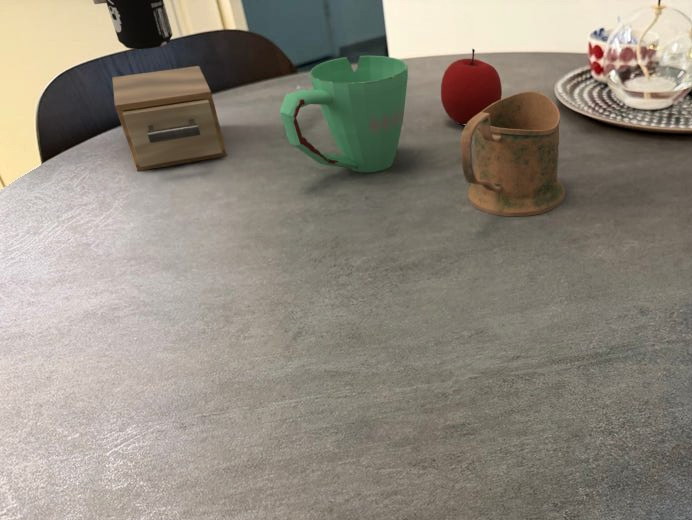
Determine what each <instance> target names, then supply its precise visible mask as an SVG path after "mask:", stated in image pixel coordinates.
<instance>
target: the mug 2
mask: <svg viewBox="0 0 692 520" xmlns="http://www.w3.org/2000/svg"><path fill="white" fill-rule="evenodd" d="M560 119H561V113H560V110H559V107H558V106H557V104H556V103H555V102H554V101H553V100H552V99H551V98H550V97H549V96H547V95H546V94H544V93H541V92H539V91H535V90H527V91H521V92H518V93H515V94H511V95H509V96H506V97H504V98H501V100H499V101H497V102H495V103H493V104H491V105H490V106H488V107H487V108H485V109H484V110H483V111H481V112H480V113H478V114H477V115H476V116H474V117H473V118H472V119H471V120H470V121H469V122H468V123H467V124H466V125H464V128H463V130H462V133H461V137H460V159H461V160H460V161H461V167H462V172H463V175H464V177H465V180H466V181H467V182H468V183H470V186H469V187H468V188H467V199H468V202H469V203H470V204H471V205H472V206H473V207H475V208H476V209H478V210H480V211H482V212H485V213H487V214H492V215H495V216H503V217H527V216H534V215H539V214H543V213H546V212H549V211H551V210H553V209H555V208H557V207H558V206H560V204H562V202H563V201H564V200H565V193H566V190H565V187H564V186H563V185H562V183H561V181H559V179H558V169H559V155H560V154H559V145H560V124H561V123H560V122H561V120H560ZM472 143H473V145H472ZM472 146H474V148H473V149H474V157H473V155H472V152H473V151H472ZM473 161H474V165H473Z"/></svg>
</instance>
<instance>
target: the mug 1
mask: <svg viewBox="0 0 692 520" xmlns="http://www.w3.org/2000/svg"><path fill="white" fill-rule="evenodd" d="M356 66H357V67H356V69H355V70H354V69H353V67H352V64H351V62H350V59H349V58H348V56H347V57H346V56H345V57H339V58H335V59H330V60H327V61H324V62H322V63H318V64H317V65H315V66H314V67H312V68H311V69H310V72H309V77H310V82H311V85H312V88H313V89H300V90H297V91H293V92H290V93H287V94H285V95H284V98H283V101H282V104H281V107H280V110H279V114H280V117H281V120H282V123H283V128H284V131H285V133H286V136H287V140H288V142H289V143H290V144H291V145H292V146H294V147H296V148H297V149H298V150H300V151H301V152H302V153H304V154H305V155H307V156H308V157H310V158H311V159H312V160H314V161H315V162H317V163H318V164H320V165H323V166H330V167H339V168H348V169H350V170H352V171H354V172H358V173H377V172H381V171H385V170H387V169H388V168H390V167H391V166H392V165H393V164H394V160H395V157H396V154H397V150H398V146H399V143H400V139H401V133H402V127H403V123H404V117H405V106H406V98H407V87H408V77H409V73H408V72H409V71H408V70H409V69H408V64H407V63H406V62H404V61H403V60H401V59H399V58H395V57H390V56H386V55H385V56H384V55H359V57H358V59H357V65H356ZM309 105H320V108H321V111H322V114H323V116H324V120H325V122H326V125H327V127H328V129H329V131H330V133H331V135H332V138H333V141H334V142H335V144H336V147H337V148H338V150H339V151H340V153H341V155H337V154H329V153H323V152H321V151H320V150H319V149H318V148H317V147H315V146H314V145H313V144H312V143H311V142H310V141H309V140H308V139H307V138H306V137H305V136H304V135H303V134H302V131H301V127H300V124H299V122H298V119H297V116H298V114H299V112H300V110H301V108H304V107H306V106H309Z"/></svg>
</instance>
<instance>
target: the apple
mask: <svg viewBox="0 0 692 520" xmlns="http://www.w3.org/2000/svg"><path fill="white" fill-rule="evenodd" d="M471 51H472V52H471V55H472V57H471V58H461V59H457V60H455V61H453V62H452V63H451V64H449V66H447V68H446V69H445V71H444V73H443V76H442V79H441V83H440V84H441V85H440V99H441V103H442V107H443V109H444V111H445V113H446V114H447V116H448V117H449V118H450V119H451V120H452V121H454V122H455V123H457V124H458V123H459V124H458V125H460V124H467V123H468V122H469V121H470V120H471V119H472V118H473V117H474V116H476V115H477V114H478V113H480V112H481V111H483V110H484V109H485V108H487V107H488V106H490V105H491V104H493V103H495V102H497V101H499V100H501V99H502V94H503V92H502V91H503V90H502V89H503V87H502V81H501V77H500V75H499V73H498V71H497V69H496V68H495V67H494V66H492V65H491V64H489V63H487V62H485V61H482V60H480V59H476V58H475V49H474V48H471Z"/></svg>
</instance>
